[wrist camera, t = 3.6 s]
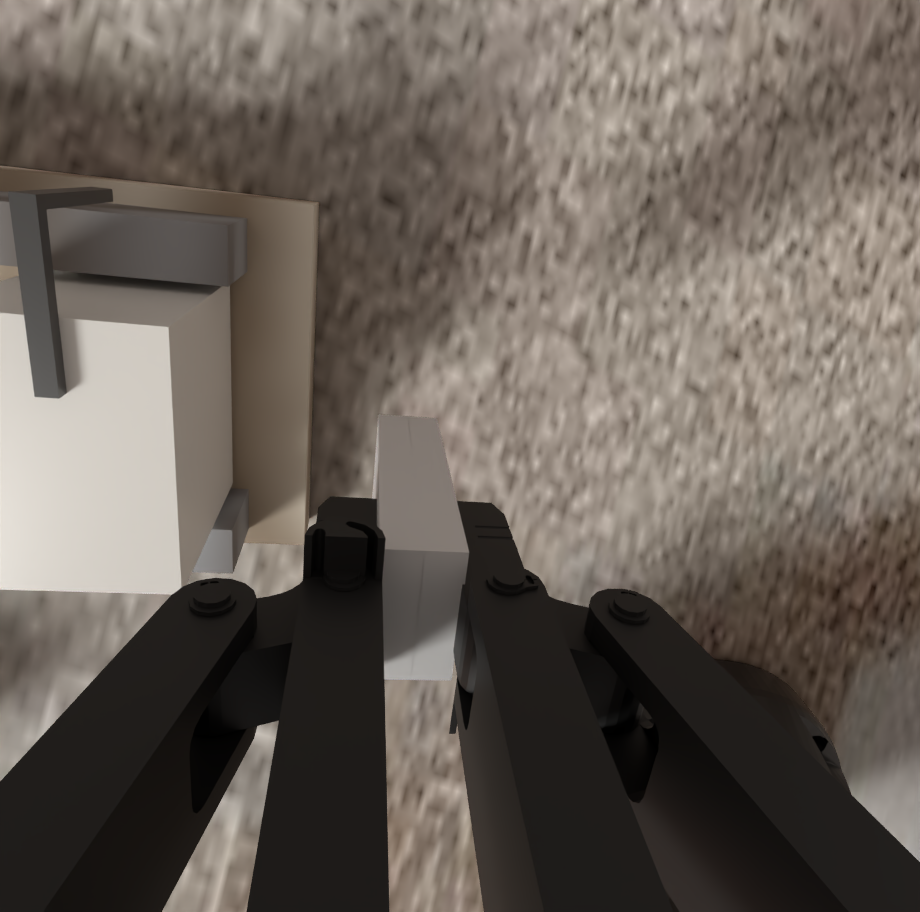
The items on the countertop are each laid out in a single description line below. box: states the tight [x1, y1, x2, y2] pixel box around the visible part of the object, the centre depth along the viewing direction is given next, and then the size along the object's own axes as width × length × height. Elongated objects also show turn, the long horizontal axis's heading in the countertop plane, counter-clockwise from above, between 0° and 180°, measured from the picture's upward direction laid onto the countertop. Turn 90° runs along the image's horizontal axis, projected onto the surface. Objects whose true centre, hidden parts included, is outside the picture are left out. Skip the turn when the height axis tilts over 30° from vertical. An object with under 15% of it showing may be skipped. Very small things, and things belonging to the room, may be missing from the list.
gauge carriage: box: [0, 187, 233, 594], centre depth 18 cm, size 9×10×7 cm
